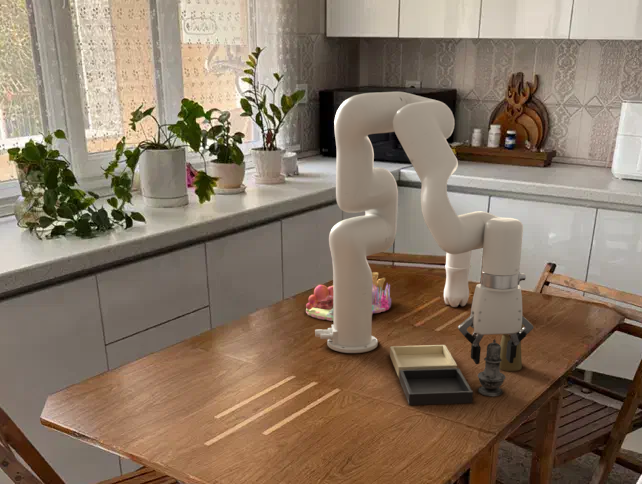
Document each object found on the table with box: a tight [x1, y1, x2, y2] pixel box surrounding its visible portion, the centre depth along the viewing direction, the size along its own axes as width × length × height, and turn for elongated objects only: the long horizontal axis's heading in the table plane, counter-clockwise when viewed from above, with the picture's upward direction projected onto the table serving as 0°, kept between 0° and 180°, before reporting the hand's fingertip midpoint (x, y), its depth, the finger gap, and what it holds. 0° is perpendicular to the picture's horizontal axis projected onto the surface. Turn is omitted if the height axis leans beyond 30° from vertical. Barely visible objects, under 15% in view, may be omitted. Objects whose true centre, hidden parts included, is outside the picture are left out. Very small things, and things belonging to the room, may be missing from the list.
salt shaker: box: [477, 338, 506, 397], centre depth 167 cm, size 6×6×12 cm
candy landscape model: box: [305, 271, 392, 322], centre depth 222 cm, size 25×24×9 cm
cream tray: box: [389, 344, 458, 378], centre depth 183 cm, size 13×13×2 cm
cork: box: [499, 324, 524, 372], centre depth 180 cm, size 6×6×11 cm
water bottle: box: [443, 250, 472, 308], centre depth 221 cm, size 7×7×25 cm
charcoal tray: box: [398, 367, 474, 406], centre depth 169 cm, size 13×13×2 cm
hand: (492, 360), depth 166 cm, fingers open, 6 cm apart
